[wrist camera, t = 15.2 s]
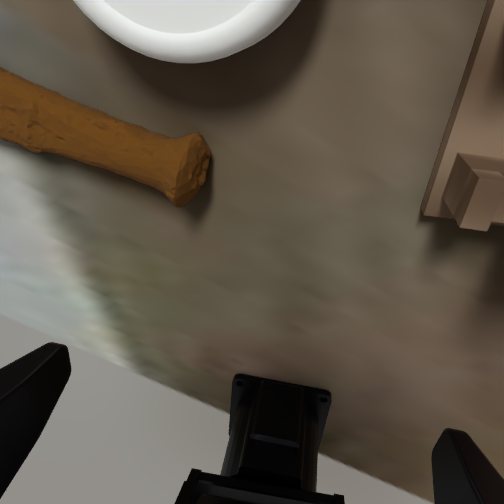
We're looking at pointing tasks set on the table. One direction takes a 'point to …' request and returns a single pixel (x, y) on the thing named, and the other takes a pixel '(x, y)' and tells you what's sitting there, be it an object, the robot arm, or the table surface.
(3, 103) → the primitive tool
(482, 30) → the tan two-rail tray
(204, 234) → the table surface
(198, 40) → the coaster
